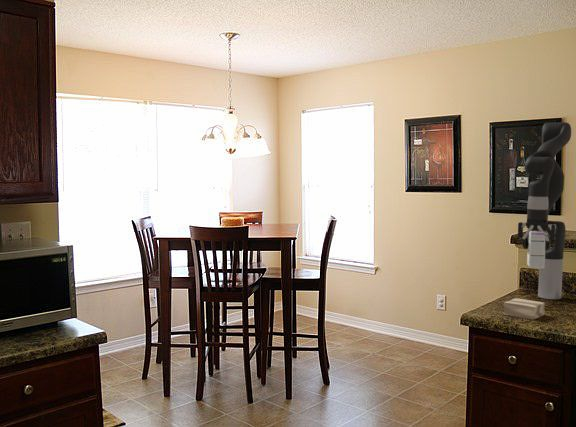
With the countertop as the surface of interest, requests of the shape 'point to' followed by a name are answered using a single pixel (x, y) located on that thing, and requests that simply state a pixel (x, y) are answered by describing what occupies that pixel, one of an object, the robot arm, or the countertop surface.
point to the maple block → (524, 308)
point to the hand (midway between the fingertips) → (536, 249)
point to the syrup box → (536, 250)
